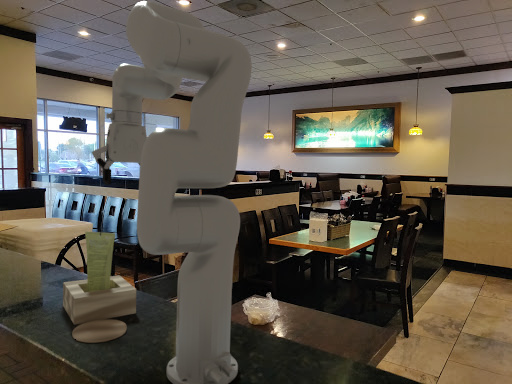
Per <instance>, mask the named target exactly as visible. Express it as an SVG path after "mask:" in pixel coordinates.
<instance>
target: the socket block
mask: <svg viewBox="0 0 512 384" xmlns="http://www.w3.org/2000/svg"><path fill="white" fill-rule="evenodd" d="M62 288H63V289H62V306H63V308H64V310H65V311H66V313H67V315H68V317H69V319H70V320H71V321H72V323H73V325H74V326H76V325H81V324H84V323H87V322H90V321H95V320H103V319H113V318H117V317H123V316H128V315H133V314H136V313H137V288H136V287H134V286H133V285H132V284H130V282H128V281H127V280H126V279H124V278H123V277H122V276H121V275H113V276H112V275H111V276H110V289H106V290H99V291H92V292H87V290H88V286H87V279H80V280H72V281H65V282H63V283H62Z"/></svg>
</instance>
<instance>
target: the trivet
mask: <svg viewBox="0 0 512 384" xmlns="http://www.w3.org/2000/svg"><path fill="white" fill-rule="evenodd" d="M127 330H128V327H127V324H126V323H125V322H124V321H121V320H118V319H113V318H108V319H102V320H95V321H90V322H86V323H81V324H78V325H77V326H76V327H74V328H73V330H72V331H71V332H72V334H71V335H72V338H73V339H74V340H75V339H76V340H75V341H77V342H80V343H87V344H88V343H89V344H90V343H91V344H93V343H105V342H109V341H113V340H115V339H118V338H120V337H122V336H123V335H124V334H126V332H127Z"/></svg>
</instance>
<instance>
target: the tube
mask: <svg viewBox="0 0 512 384" xmlns="http://www.w3.org/2000/svg"><path fill="white" fill-rule="evenodd" d="M84 233H85V234H84V235H85V244H86V245H85V246H86V266H87V267H86V270H87V278H86V280H87V286H88V290H87V292H92V291H99V290H106V289H110V276H112V274H111V273H112V263H113V262H112V261H113V251H114V243H115V238H116V232H101V231H99V232H97V231H86V230H85V231H84Z"/></svg>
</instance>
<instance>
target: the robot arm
mask: <svg viewBox="0 0 512 384" xmlns="http://www.w3.org/2000/svg"><path fill="white" fill-rule="evenodd" d="M125 29H126V30H125V32H126V38H127V41H128V43H129V45H130V47H131V48H132V50H133V51H134V52H135V54H136V55H137V56H138V57H139V59H140V60H141V62H142V65H143V66H140V65H136V64H129V63H121V64H119V65H118V66H117V68H116V69H114V71H113V74H112V88H111V89H112V90H111V92H112V93H111V95H112V99H111V103H112V105H111V107H112V108H111V112H109V113H106V119H109V120H110V122H111V123H109V125H108V127H107V133H106V135H107V136H106V142H105V145H103V146H101V147H99V148H97V149H95V150H93V151H92V152H91V154H92V156H93V158H94V159H95V163H97V164H98V165H99V167H101V169H102V182H104V185H107V186H110V185H112V169H111V166H112V165H113V164H114V163H127V164H128V163H133V164H138V166H139V177H138V193H137V194H138V196H137V198H138V199H137V213H136V215H137V217H136V233H137V235H136V236H137V239H138V243H139V246H140V248H141V249H142V250H143V251H144V252H145V253H148V254H150V255H157V256H160V255H162V256H163V255H173V254H184V253H187V255H186V257H185V258H184V260H183V262H182V263H181V266H180V268H179V271H178V276H177V291H176V292H177V297H176V301H177V302H176V334H175V337H176V339H175V356H174V357H172V358H171V359H170V360H169V361H168V363H167V365H166V371H165V372H166V377H167V379H168V380H169V381H170V382H171V383H172V384H229V383H231V382H232V381H234V380H235V379H236V377H237V375H238V373H239V371H238V370H239V364H238V362H237V360H236V359H235V358H234V357H233V356H232V354H231V353H230V351H231V319H232V298H233V297H232V294H233V293H232V291H233V290H232V289H233V274H234V273H233V272H234V261H235V251H236V247H237V242H238V237H239V233H240V228H241V216H240V211H239V209H238V207H237V206H236V204H235V203H234V202H233V201H232V200H230V199H229V198H226V197H224V196H220V195H213V194H201V195H200V194H197V195H196V194H195V195H194V194H193V195H192V194H191V195H190V194H188V195H176V192H177V191H178V189H216V188H223V187H226V186H228V185H230V184H231V183H232V182H233V180H234V177H235V175H236V172H237V166H238V156H239V155H238V154H239V145H240V136H241V135H240V134H241V123H242V113H243V112H242V111H243V106H244V103H245V99H246V95H247V93H248V90H249V89H248V88H249V86H250V83H251V77H252V68H253V67H252V64H253V63H252V57H251V54H250V52H249V49H248V47H247V46H246V44H244V43H243V42H241V41H240V40H238V39H236V38H233V37H231V36H229V35H226V34H222V33H220V32H216V31H212V30H209V29H206V28H205V26H204V24H203V22H202V21H201V20H200V19H199V18H198V17H197V16H195V15H193V14H192V13H189V12H188V11H185V10H182V9H178V8H175V7H171V6H167V5H164V4H160V3H157V2H154V1H151V0H143V1H140V2H137V3H136V4H135V5H134V6H133V7H132V8H131V10H130V12H129V14H128V17H127V19H126V26H125ZM183 79H187V80H192V81H193V80H194V81H199V82H200V81H201V82H205V83H203V84H202V86H201V87H200V88H199V89H198V90H197V92H196V93H195V95H194V97H192V98H193V99H192V100H191V104H190V113H189V114H190V115H189V124H188V128H187V129H181V128H170V127H169V128H168V127H163V128H158V129H155V130H154V131H152V132H151V133H150V134H149V135H147V131H146V130H147V129H146V126H144V125H142V124H143V99H149V100H155V101H166V100H168V99H170V98H171V97H173V96H174V95H175V94H177V93H178V91H179V89H180V87H181V85H182V81H183ZM104 152H105V160H104V159H103V158H102V157H101V154H104Z"/></svg>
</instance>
